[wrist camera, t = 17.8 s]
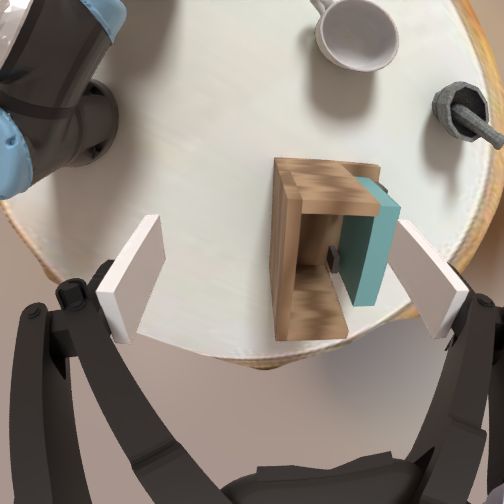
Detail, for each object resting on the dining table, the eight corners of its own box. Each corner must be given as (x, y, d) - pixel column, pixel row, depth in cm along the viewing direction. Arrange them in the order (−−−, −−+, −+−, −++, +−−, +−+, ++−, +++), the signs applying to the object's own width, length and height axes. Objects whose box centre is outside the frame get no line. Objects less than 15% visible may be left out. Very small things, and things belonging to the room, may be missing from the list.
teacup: (388, 57, 36) (413, 54, 29) (334, 85, 39) (350, 85, 32) (340, -15, 30) (356, -31, 23) (282, 11, 33) (288, -3, 26)
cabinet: (269, 267, 55) (275, 340, 40) (274, 157, 45) (287, 199, 29) (357, 267, 55) (389, 335, 40) (377, 164, 45) (432, 208, 30)
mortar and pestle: (414, 102, 39) (456, 112, 29) (443, 69, 35) (487, 72, 25) (449, 149, 43) (491, 169, 32) (476, 116, 39) (519, 131, 29)
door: (335, 262, 53) (352, 306, 43) (348, 176, 45) (376, 205, 34) (360, 262, 53) (382, 305, 43) (376, 178, 45) (410, 207, 34)
